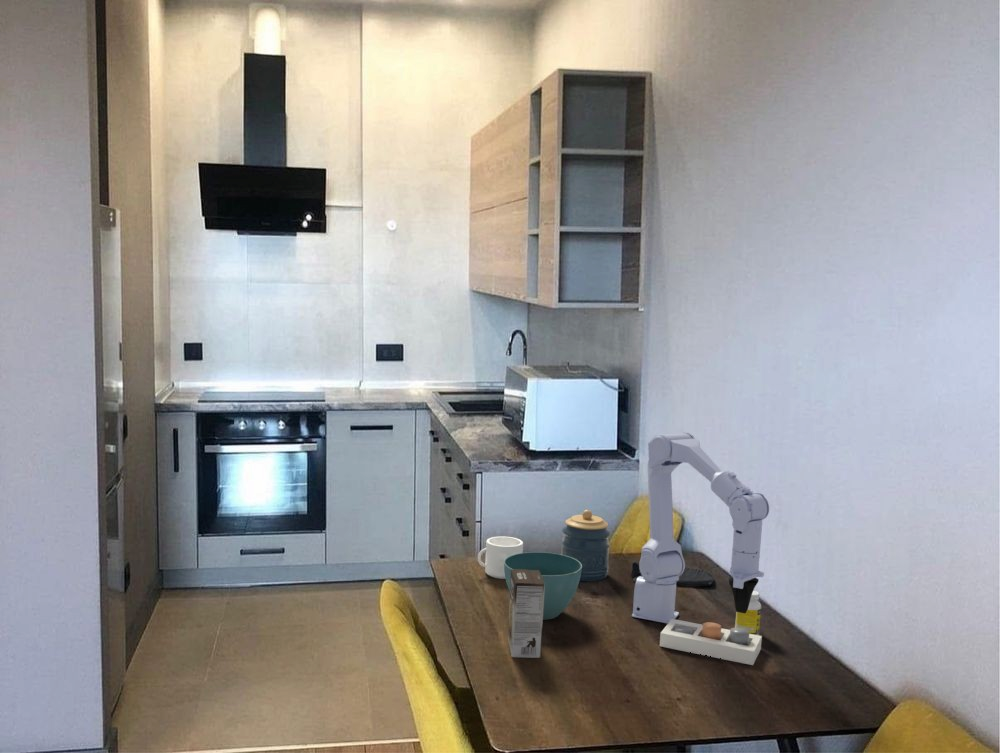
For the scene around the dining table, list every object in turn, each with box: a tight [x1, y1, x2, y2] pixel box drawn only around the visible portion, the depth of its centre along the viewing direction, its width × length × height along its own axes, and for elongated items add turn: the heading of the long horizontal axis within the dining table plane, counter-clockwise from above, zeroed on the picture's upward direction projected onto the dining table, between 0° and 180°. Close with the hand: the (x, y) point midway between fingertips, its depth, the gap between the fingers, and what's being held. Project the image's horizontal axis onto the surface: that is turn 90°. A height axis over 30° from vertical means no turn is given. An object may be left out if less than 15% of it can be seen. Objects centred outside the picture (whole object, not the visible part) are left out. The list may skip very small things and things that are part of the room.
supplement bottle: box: [734, 589, 762, 636], centre depth 219 cm, size 5×5×10 cm
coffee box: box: [507, 569, 545, 659], centre depth 203 cm, size 9×6×16 cm
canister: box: [560, 509, 612, 582], centre depth 256 cm, size 13×13×18 cm
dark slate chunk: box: [630, 561, 715, 587], centre depth 258 cm, size 15×22×5 cm
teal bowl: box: [504, 551, 582, 621], centre depth 225 cm, size 18×18×12 cm
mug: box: [477, 536, 524, 580], centre depth 253 cm, size 12×10×9 cm
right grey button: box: [729, 627, 749, 646], centre depth 207 cm, size 4×4×3 cm
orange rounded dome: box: [702, 621, 722, 640], centre depth 210 cm, size 4×4×3 cm
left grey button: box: [675, 626, 693, 635], centre depth 212 cm, size 4×4×3 cm
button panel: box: [659, 618, 763, 666], centre depth 210 cm, size 20×10×3 cm, turn 66°
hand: (741, 611), depth 207 cm, fingers closed
